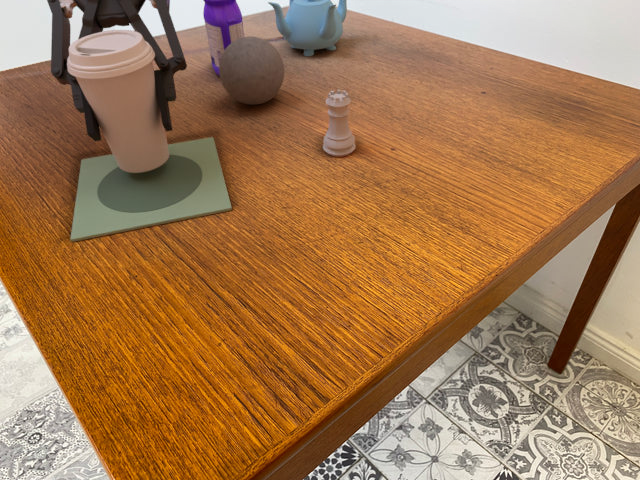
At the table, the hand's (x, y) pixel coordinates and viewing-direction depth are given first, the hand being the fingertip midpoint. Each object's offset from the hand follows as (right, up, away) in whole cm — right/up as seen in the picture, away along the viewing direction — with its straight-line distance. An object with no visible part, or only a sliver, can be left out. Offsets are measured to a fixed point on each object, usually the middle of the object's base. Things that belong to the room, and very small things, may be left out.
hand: (131, 132), depth 61 cm
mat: (+1, -6, +5) cm, 8 cm away
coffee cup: (-1, -2, +6) cm, 7 cm away
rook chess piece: (+25, 0, +10) cm, 27 cm away
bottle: (+6, +17, +32) cm, 37 cm away
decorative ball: (+12, +9, +23) cm, 27 cm away
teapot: (+21, +25, +40) cm, 52 cm away
